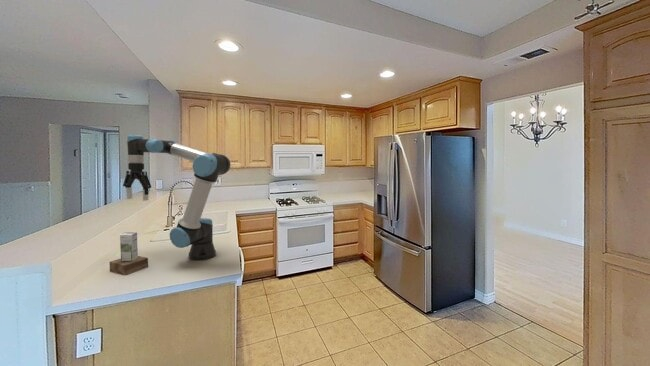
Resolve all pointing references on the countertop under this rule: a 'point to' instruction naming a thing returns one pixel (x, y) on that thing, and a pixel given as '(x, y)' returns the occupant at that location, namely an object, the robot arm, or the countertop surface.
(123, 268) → the walnut plinth
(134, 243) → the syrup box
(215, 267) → the countertop surface
